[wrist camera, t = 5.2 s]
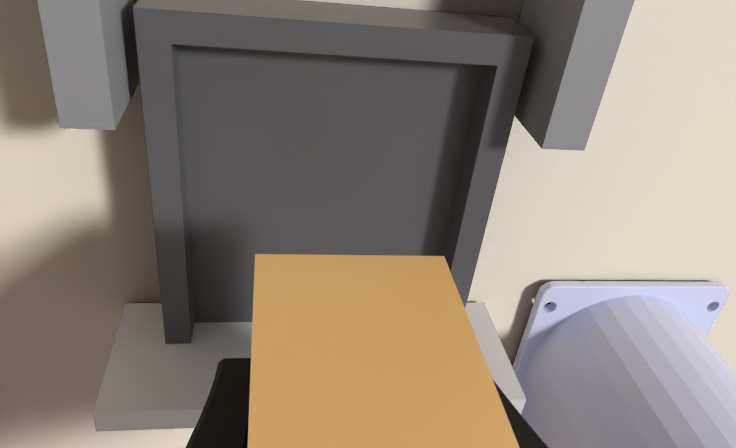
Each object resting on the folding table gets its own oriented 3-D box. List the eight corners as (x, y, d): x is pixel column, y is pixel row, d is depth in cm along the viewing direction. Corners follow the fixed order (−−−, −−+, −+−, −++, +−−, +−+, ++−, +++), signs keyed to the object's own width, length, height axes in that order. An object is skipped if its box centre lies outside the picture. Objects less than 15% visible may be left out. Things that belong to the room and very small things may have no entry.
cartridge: (410, 411, 16) (459, 622, 12) (253, 416, 15) (246, 641, 11) (444, 255, 13) (523, 456, 9) (254, 253, 12) (246, 470, 8)
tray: (479, 318, 24) (520, 416, 20) (128, 320, 22) (96, 431, 18) (561, 20, 18) (643, 78, 14) (81, -19, 15) (16, 37, 11)
